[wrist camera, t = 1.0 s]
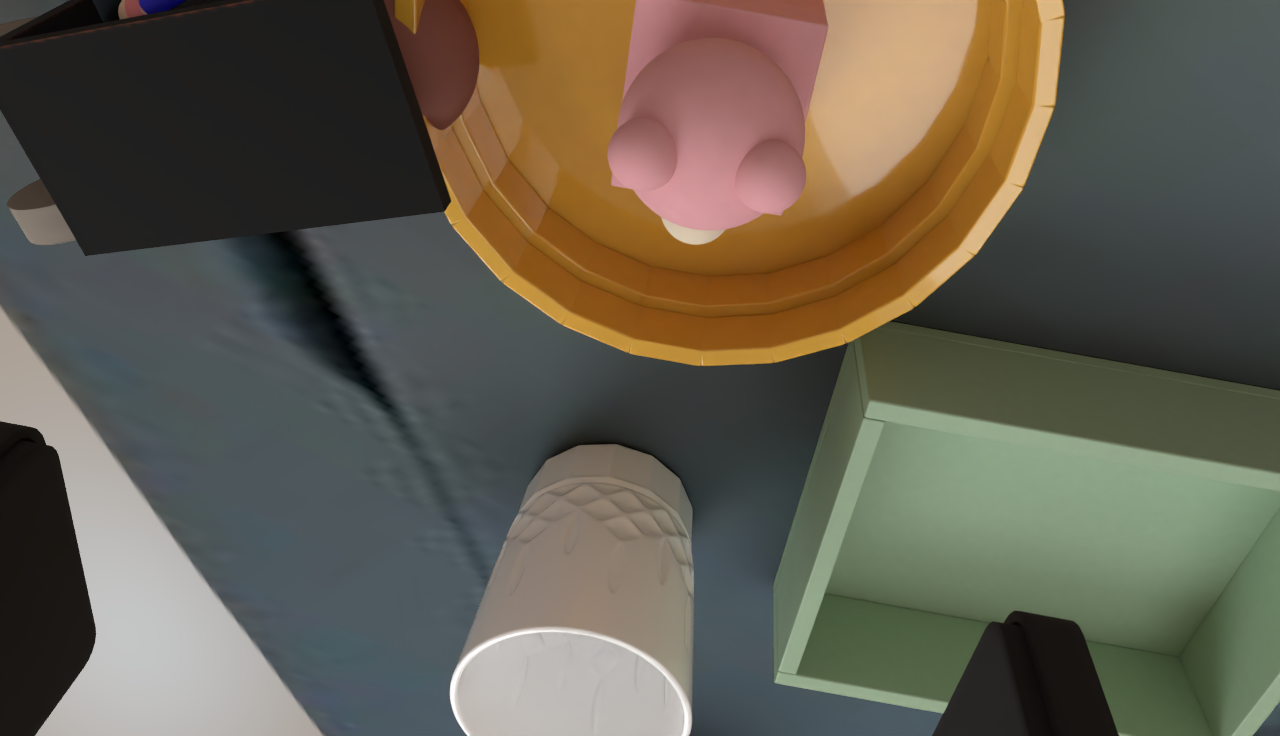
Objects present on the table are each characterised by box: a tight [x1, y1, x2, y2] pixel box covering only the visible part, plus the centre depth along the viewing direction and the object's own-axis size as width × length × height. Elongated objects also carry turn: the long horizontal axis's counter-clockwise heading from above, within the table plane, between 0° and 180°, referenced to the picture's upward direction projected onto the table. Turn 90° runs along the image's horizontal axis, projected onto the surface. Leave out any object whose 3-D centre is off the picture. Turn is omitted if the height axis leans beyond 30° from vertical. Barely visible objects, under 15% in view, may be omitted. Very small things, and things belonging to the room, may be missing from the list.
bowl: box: [394, 0, 1065, 366], centre depth 28 cm, size 17×17×4 cm
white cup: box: [450, 444, 694, 736], centre depth 37 cm, size 8×8×10 cm
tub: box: [773, 321, 1280, 736], centre depth 36 cm, size 13×17×5 cm
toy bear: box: [608, 0, 828, 245], centre depth 26 cm, size 5×5×10 cm
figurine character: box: [0, 0, 480, 256], centre depth 29 cm, size 7×8×15 cm
